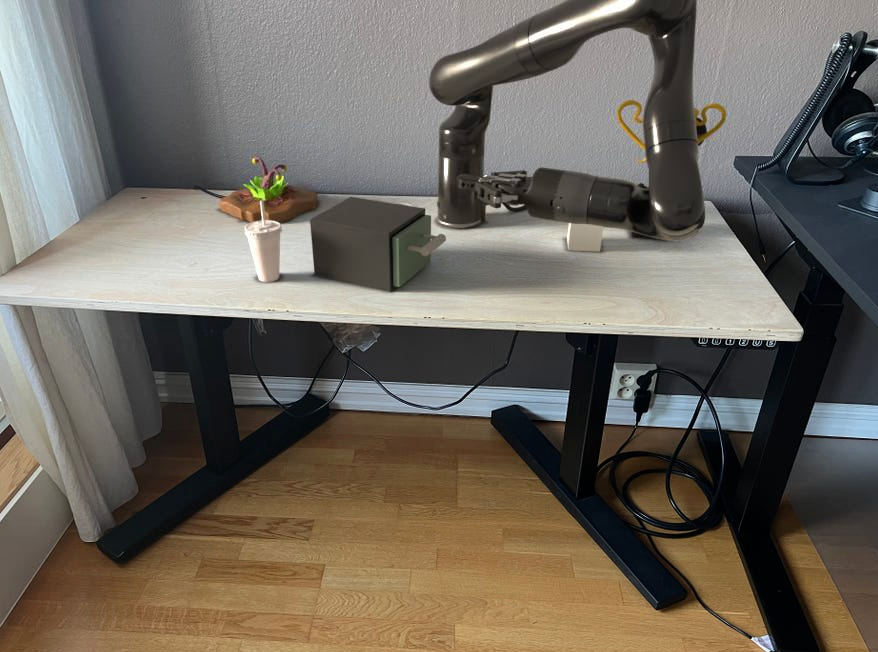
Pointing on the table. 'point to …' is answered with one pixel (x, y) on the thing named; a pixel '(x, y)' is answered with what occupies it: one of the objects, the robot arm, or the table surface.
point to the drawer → (413, 249)
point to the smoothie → (265, 246)
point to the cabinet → (359, 240)
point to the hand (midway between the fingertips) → (458, 181)
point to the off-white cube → (584, 237)
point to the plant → (269, 198)
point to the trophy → (639, 142)
